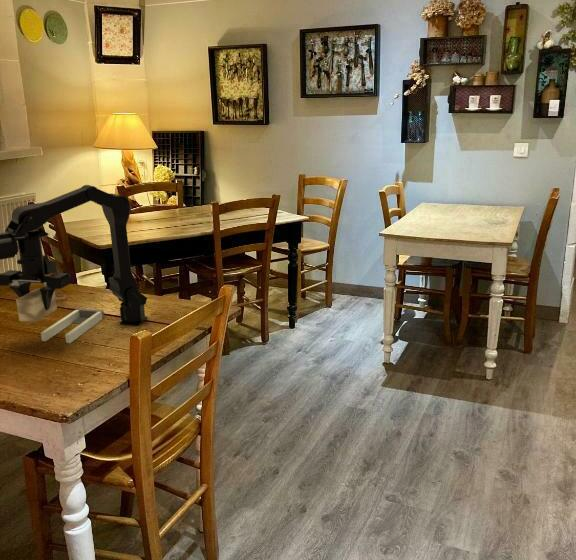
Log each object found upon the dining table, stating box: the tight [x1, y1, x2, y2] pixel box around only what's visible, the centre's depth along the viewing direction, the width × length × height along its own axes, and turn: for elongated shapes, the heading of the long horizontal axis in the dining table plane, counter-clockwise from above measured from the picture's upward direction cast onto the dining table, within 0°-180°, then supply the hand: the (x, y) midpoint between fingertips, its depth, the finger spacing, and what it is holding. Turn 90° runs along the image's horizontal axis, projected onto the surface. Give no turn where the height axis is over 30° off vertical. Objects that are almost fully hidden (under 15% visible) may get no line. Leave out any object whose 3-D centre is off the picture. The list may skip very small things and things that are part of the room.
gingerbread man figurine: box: [39, 272, 68, 303], centre depth 199 cm, size 9×4×12 cm, turn 104°
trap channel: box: [40, 308, 105, 344], centre depth 176 cm, size 9×20×2 cm, turn 170°
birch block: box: [15, 287, 58, 323], centre depth 160 cm, size 5×10×6 cm, turn 170°
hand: (38, 309), depth 161 cm, fingers closed on birch block, 5 cm apart
